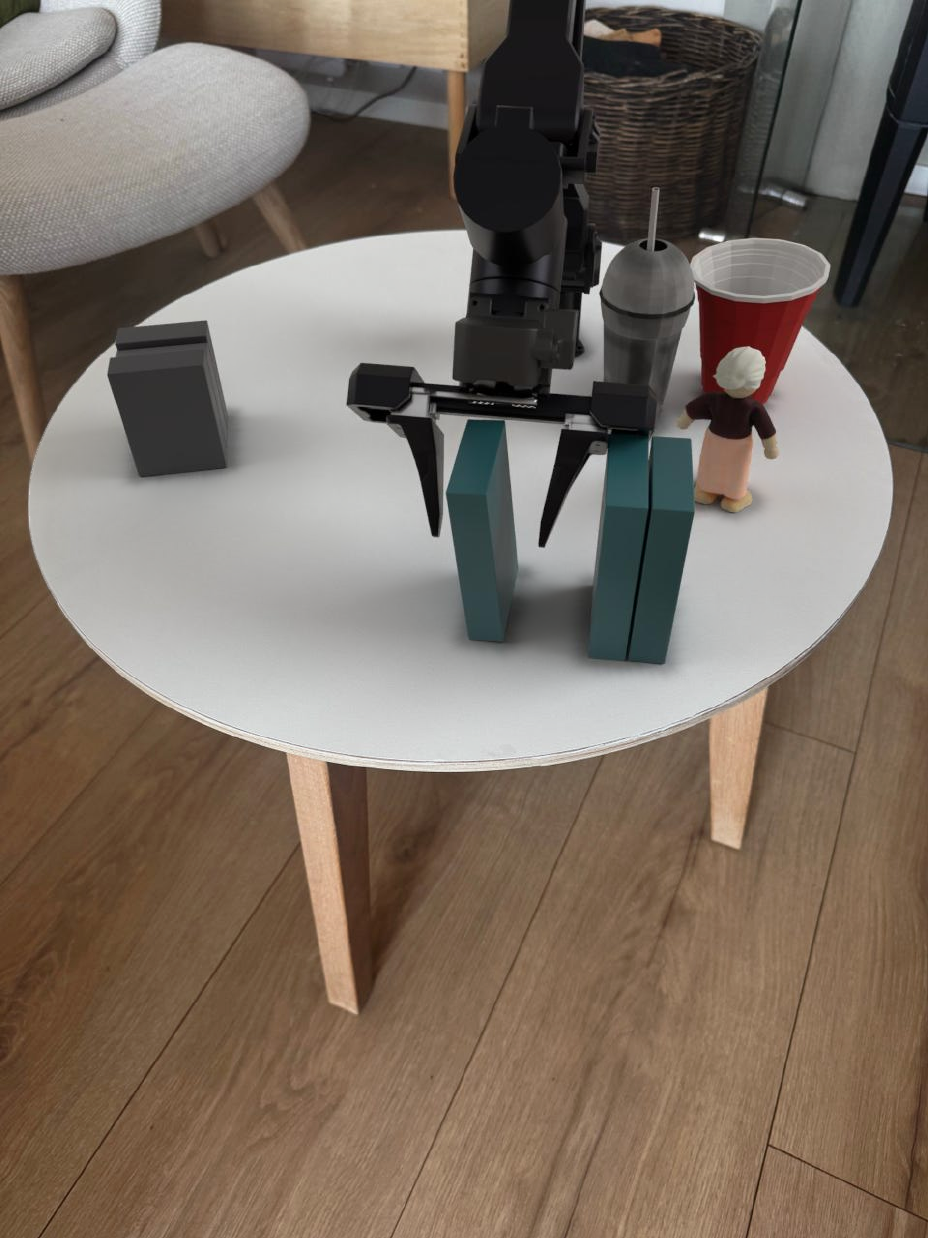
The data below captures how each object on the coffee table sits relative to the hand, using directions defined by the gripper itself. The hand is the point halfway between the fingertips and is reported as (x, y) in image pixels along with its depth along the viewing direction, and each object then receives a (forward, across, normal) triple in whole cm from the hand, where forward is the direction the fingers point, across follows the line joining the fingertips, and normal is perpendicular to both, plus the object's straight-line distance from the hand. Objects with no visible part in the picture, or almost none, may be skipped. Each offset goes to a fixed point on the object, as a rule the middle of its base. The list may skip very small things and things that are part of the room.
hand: (488, 542), depth 62 cm
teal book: (+4, 0, +6) cm, 7 cm away
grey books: (-6, -28, +18) cm, 33 cm away
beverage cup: (-12, +9, +23) cm, 28 cm away
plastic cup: (-16, +18, +27) cm, 36 cm away
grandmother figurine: (-6, +16, +17) cm, 24 cm away
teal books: (+4, +10, +6) cm, 12 cm away
